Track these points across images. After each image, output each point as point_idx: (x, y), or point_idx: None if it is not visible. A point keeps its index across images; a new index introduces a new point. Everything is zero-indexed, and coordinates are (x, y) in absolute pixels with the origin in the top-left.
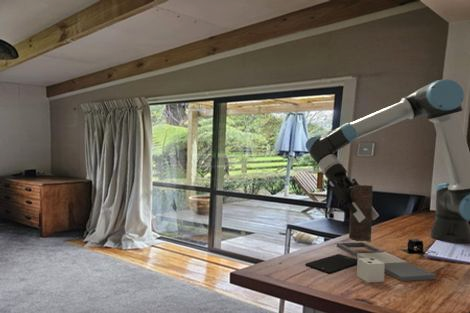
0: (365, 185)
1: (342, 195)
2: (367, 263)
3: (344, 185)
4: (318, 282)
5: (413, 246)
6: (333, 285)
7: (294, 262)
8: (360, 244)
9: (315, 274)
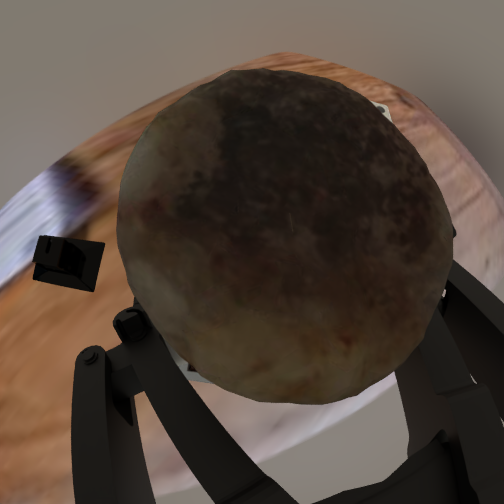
0: (175, 239)
1: (473, 276)
2: (387, 108)
3: (487, 389)
4: (447, 160)
5: (73, 245)
6: (429, 143)
7: (467, 258)
8: (197, 372)
9: (446, 187)
